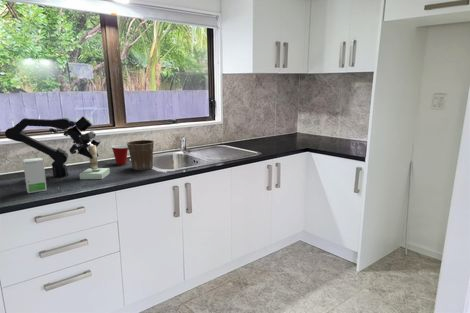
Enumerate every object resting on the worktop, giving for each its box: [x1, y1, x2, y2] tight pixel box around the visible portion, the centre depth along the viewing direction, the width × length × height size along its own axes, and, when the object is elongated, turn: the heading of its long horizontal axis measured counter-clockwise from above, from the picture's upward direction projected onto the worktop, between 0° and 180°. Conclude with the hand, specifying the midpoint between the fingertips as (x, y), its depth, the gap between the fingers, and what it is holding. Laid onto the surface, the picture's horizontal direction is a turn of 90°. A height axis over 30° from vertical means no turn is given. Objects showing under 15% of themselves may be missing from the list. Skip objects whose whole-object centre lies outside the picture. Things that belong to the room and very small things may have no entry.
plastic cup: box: [111, 144, 129, 166], centre depth 210 cm, size 11×11×12 cm
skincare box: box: [22, 157, 48, 194], centre depth 159 cm, size 8×7×16 cm
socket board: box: [79, 167, 111, 180], centre depth 184 cm, size 12×12×3 cm
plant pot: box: [126, 139, 155, 171], centre depth 200 cm, size 16×16×16 cm
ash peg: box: [87, 145, 99, 169], centre depth 182 cm, size 4×4×13 cm
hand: (95, 157), depth 181 cm, fingers closed on ash peg, 4 cm apart
